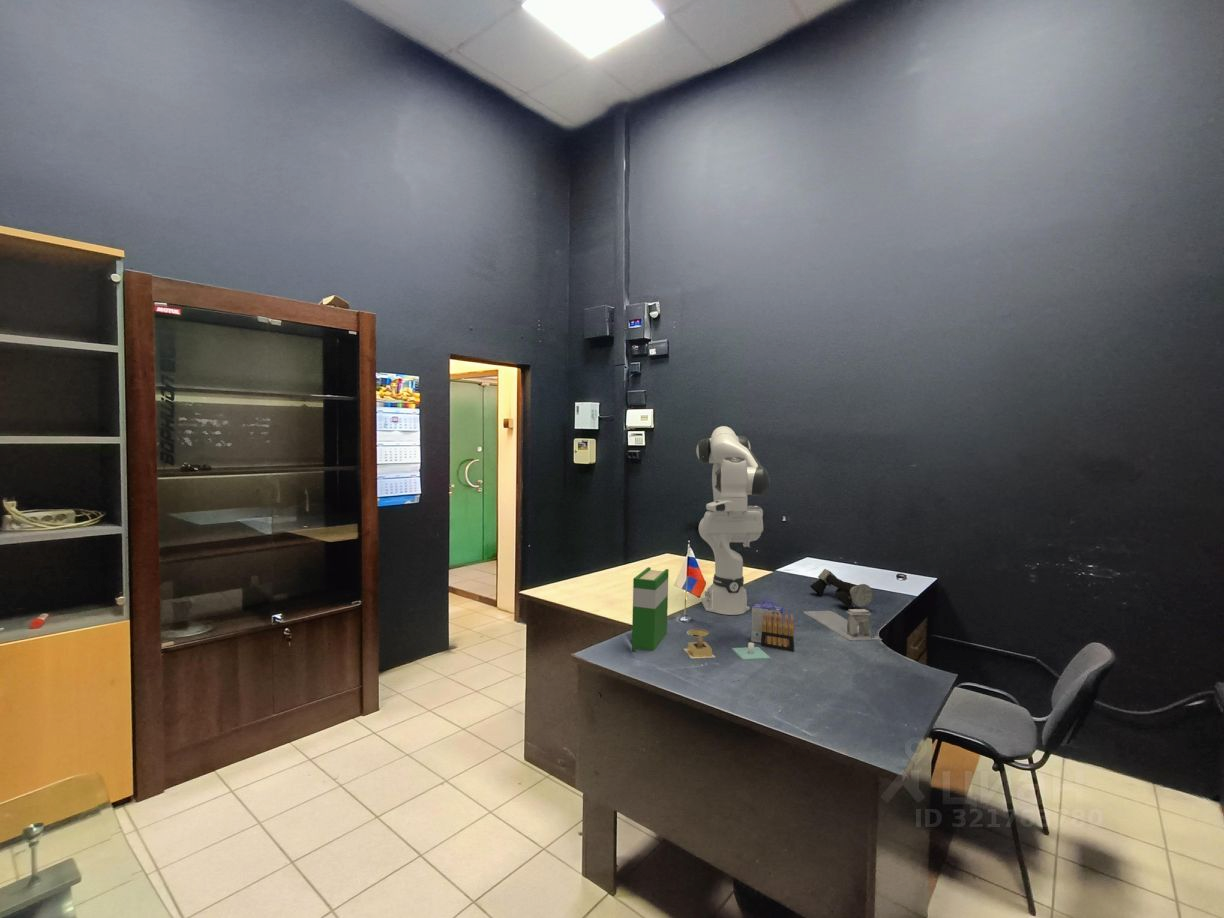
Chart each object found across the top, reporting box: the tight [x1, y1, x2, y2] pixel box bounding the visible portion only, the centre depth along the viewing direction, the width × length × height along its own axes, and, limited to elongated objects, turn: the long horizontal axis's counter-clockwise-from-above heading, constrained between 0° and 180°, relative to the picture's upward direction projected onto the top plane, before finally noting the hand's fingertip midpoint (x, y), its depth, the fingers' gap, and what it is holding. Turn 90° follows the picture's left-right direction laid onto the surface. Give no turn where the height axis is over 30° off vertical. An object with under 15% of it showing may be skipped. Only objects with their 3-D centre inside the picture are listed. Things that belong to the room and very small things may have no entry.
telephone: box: [809, 568, 874, 609], centre depth 243 cm, size 15×13×30 cm
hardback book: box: [631, 566, 670, 653], centre depth 187 cm, size 18×7×24 cm, turn 161°
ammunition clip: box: [760, 611, 795, 653], centre depth 186 cm, size 11×2×12 cm, turn 66°
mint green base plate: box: [731, 641, 771, 662], centre depth 176 cm, size 9×9×5 cm
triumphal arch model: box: [802, 608, 883, 642], centre depth 212 cm, size 12×33×10 cm, turn 10°
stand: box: [683, 636, 716, 659], centre depth 176 cm, size 8×8×6 cm
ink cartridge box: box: [750, 598, 784, 644], centre depth 192 cm, size 10×6×14 cm, turn 64°
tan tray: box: [687, 641, 713, 657], centre depth 176 cm, size 6×6×2 cm
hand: (732, 547), depth 185 cm, fingers open, 8 cm apart
